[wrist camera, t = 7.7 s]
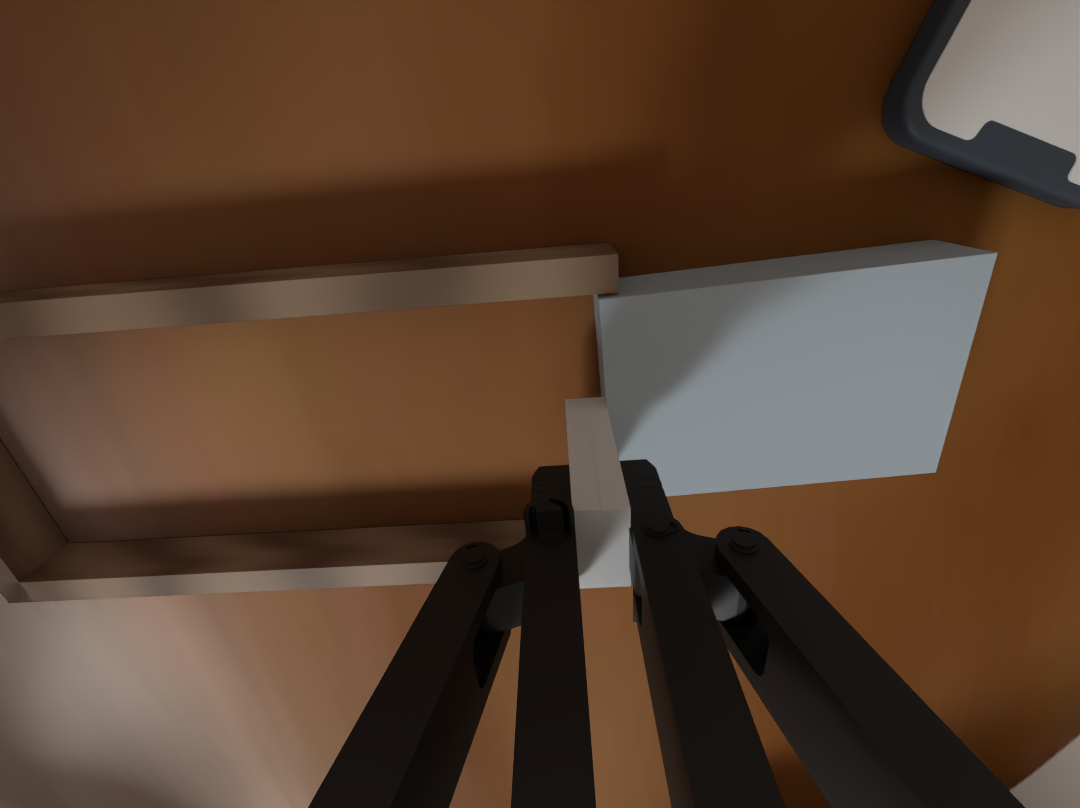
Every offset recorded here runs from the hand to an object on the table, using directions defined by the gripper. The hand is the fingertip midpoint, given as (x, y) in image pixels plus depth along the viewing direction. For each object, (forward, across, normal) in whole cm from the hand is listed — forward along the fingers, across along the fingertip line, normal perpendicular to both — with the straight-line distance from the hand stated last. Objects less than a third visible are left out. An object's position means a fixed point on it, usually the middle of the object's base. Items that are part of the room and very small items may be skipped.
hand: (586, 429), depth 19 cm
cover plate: (+2, -7, -2) cm, 7 cm away
